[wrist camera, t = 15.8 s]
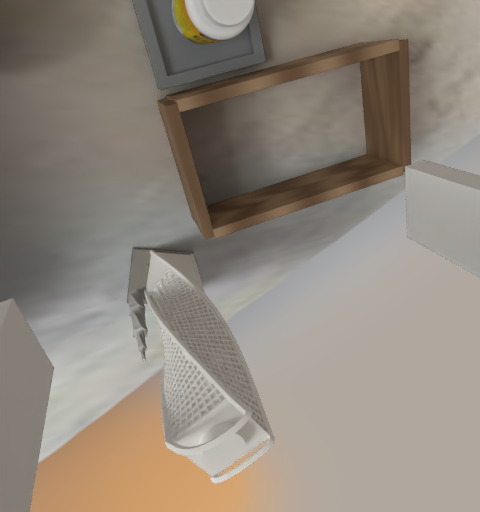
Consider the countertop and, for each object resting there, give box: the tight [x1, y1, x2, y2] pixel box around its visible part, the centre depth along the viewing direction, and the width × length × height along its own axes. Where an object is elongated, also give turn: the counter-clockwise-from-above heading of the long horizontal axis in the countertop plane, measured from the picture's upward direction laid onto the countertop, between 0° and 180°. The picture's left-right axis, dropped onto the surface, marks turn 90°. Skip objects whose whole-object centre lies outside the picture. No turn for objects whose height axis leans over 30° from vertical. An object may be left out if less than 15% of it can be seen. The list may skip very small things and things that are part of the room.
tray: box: [132, 0, 266, 90], centre depth 38 cm, size 11×11×2 cm
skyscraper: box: [127, 248, 274, 483], centre depth 36 cm, size 8×8×28 cm
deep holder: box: [157, 39, 411, 239], centre depth 43 cm, size 24×14×7 cm, turn 103°
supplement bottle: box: [172, 0, 255, 44], centre depth 34 cm, size 6×6×10 cm
